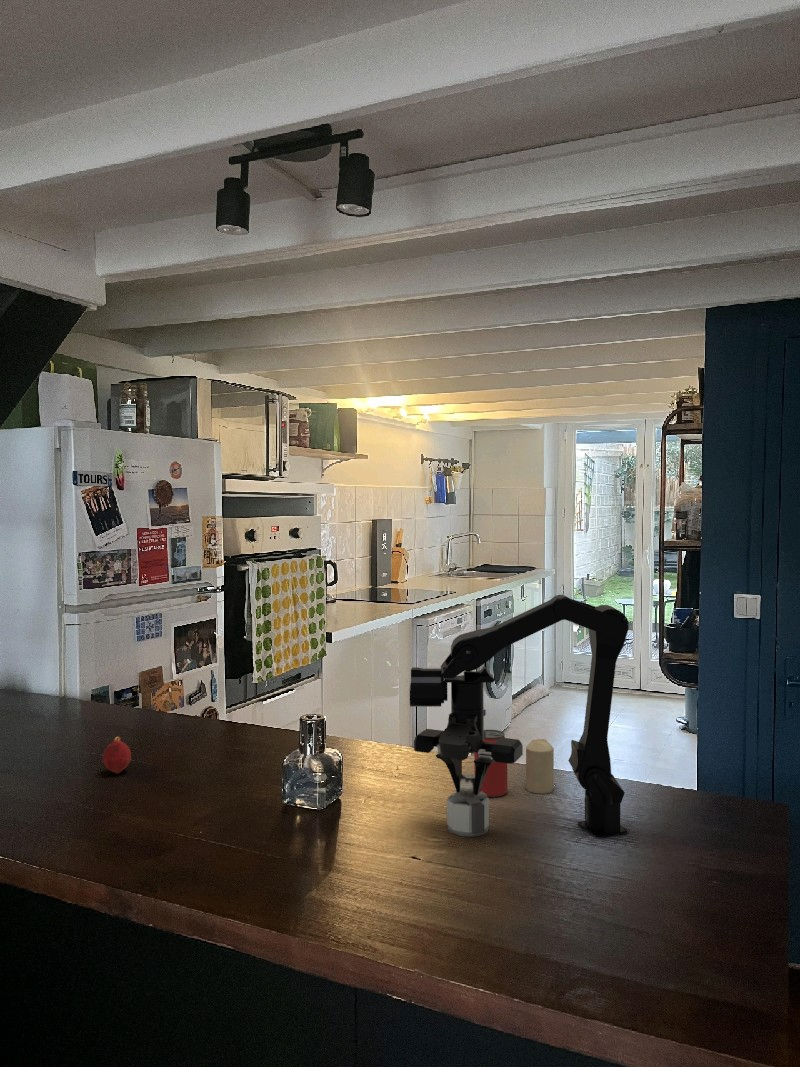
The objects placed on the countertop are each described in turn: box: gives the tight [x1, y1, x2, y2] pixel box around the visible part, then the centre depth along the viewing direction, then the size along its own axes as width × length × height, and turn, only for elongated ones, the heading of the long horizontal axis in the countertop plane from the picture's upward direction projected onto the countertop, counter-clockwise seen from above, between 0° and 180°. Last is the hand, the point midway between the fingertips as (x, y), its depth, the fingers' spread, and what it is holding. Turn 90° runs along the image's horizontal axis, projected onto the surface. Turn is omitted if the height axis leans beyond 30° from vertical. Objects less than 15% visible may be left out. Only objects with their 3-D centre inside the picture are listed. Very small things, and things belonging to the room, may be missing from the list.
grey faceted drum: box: [446, 790, 490, 838], centre depth 146 cm, size 8×7×6 cm
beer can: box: [473, 729, 508, 798], centre depth 164 cm, size 7×7×12 cm
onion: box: [102, 736, 132, 775], centre depth 178 cm, size 6×6×8 cm
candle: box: [525, 738, 555, 795], centre depth 166 cm, size 6×6×10 cm
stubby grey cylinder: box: [459, 773, 475, 805], centre depth 146 cm, size 5×5×8 cm
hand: (467, 793), depth 146 cm, fingers closed on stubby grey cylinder, 3 cm apart
